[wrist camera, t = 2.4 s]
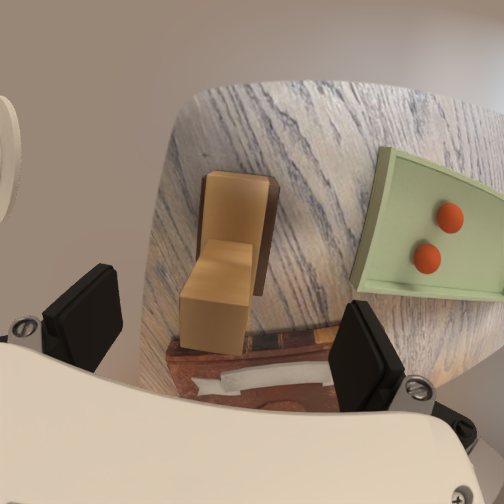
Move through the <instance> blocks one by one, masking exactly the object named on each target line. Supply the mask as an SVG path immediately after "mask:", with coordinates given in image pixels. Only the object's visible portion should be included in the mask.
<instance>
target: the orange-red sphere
mask: <svg viewBox="0 0 504 504" xmlns="http://www.w3.org/2000/svg"><path fill="white" fill-rule="evenodd" d="M414 264H415V267H416V268H417V270H418V271H419V272H421V273H423V274H432V273H434V272H435V271H437V269H438V268H439V266H440V264H441V254H440V252H439V250H438V249H437V247H435V246H434V245H432V244H423V245H421V246H420V247H418V249H417V250H416V252H415V254H414Z"/></svg>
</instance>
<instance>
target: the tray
mask: <svg viewBox="0 0 504 504" xmlns="http://www.w3.org/2000/svg"><path fill="white" fill-rule="evenodd" d="M446 203H453V204H455V205H457V206H458V207H459V208H460V209H461V211H462V213H463V216H464V222H463V226H462V228H461V229H460V230H459V231H458V232H456V233H453V234H448V233H446V232H444V231H443V230H441V228H440V227H439V225H438V222H437V213H438V210H439V209H440V207H441V206H442V205H444V204H446ZM423 244H432V245H434V246H435V247H437V249H438V250H439V252H440V254H441V264H440V266H439V268H438V269H437V271H435V272H434V273H432V274H423V273H421V272H419V271H418V270H417V268H416V267H415V264H414V254H415V252H416V250H417V249H418V247H420V246H421V245H423ZM350 282H351V283H352V285H353V287H354V288H355V290H356V291H357V292H366V293H377V294H388V295H400V296H412V297H425V298H439V299H454V300H470V301H489V302H504V195H503V194H501V193H500V192H498V191H496V190H494V189H492V188H490V187H488V186H486V185H484V184H482V183H480V182H478V181H476V180H474V179H472V178H470V177H468V176H465V175H463V174H461V173H459V172H456V171H454V170H452V169H449V168H447V167H445V166H442V165H440V164H437V163H435V162H432V161H430V160H427V159H424V158H422V157H419V156H416V155H413V154H411V153H408V152H405V151H402V150H399V149H396V148H393V147H380V149H379V156H378V162H377V167H376V173H375V178H374V184H373V189H372V193H371V198H370V203H369V208H368V212H367V216H366V221H365V225H364V229H363V233H362V237H361V241H360V245H359V248H358V252H357V256H356V259H355V263H354V266H353V270H352V273H351V277H350Z"/></svg>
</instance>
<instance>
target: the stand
mask: <svg viewBox="0 0 504 504" xmlns="http://www.w3.org/2000/svg"><path fill="white" fill-rule="evenodd" d="M215 171H223V170H215ZM226 172H232V171H226ZM234 173H241V172H234ZM243 174H249V173H243ZM251 175H256V174H251ZM258 176H263V175H258ZM265 177H268V179H269V183H270V184H269V191H268V198H267V205H266V211H265V218H264V225H263V231H262V238H261V245H260V251H259V258H258V264H257V271H256V277H255V284H254V290H253V295H255V296H262V295H263V289H264V283H265V278H266V272H267V266H268V260H269V254H270V248H271V242H272V236H273V230H274V224H275V217H276V211H277V205H278V199H279V192H280V186H279V184H278V182H277V181H276V179H275V177H270V176H265ZM206 179H207V175H206V176H204V177H202V185H201V196H200V207H199V220H198V234H197V249H196V262H197V260H198V258H199V256H200V250H201V236H202V223H203V211H204V200H205V189H206Z"/></svg>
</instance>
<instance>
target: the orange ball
mask: <svg viewBox="0 0 504 504" xmlns="http://www.w3.org/2000/svg"><path fill="white" fill-rule="evenodd" d="M437 222H438V225H439V227H440V228H441V230H443V231H444V232H446V233H448V234H453V233H456V232H458V231H459V230H460V229H461V228H462V226H463V222H464V216H463V213H462V211H461V209H460V208H459V207H458V206H457V205H455V204H453V203H446V204H444V205H442V206H441V207H440V209H439V210H438V213H437Z"/></svg>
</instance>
